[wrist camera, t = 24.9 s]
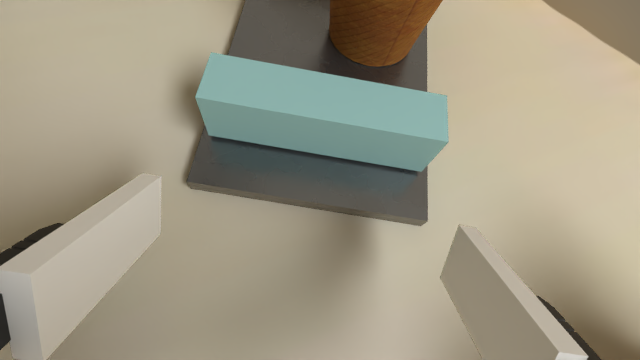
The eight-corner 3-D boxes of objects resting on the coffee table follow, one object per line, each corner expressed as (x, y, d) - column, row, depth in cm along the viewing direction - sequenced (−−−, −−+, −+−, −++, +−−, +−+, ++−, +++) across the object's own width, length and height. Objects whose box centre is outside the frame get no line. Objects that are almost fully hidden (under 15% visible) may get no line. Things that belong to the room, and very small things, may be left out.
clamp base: (420, 225, 21) (461, 196, 16) (190, 188, 20) (164, 146, 15) (422, -35, 31) (447, -97, 26) (271, -65, 30) (269, -135, 26)
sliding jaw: (421, 171, 21) (448, 141, 17) (208, 135, 20) (195, 97, 17) (421, 130, 22) (447, 95, 19) (221, 95, 21) (211, 52, 18)
